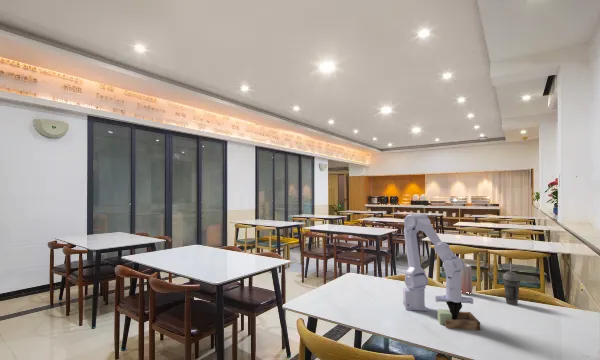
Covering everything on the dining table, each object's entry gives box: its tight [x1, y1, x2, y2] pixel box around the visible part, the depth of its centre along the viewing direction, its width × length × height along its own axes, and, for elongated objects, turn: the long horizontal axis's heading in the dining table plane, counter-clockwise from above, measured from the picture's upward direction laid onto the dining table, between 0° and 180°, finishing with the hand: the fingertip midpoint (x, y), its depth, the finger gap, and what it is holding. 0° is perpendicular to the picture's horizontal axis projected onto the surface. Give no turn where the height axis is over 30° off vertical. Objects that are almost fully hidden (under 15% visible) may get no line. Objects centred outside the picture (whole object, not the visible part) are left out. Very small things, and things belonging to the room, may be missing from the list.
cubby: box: [445, 311, 481, 331], centre depth 129 cm, size 13×10×3 cm
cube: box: [436, 308, 452, 326], centre depth 130 cm, size 4×4×4 cm
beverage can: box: [461, 263, 473, 296], centre depth 166 cm, size 6×6×15 cm
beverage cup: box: [502, 261, 521, 306], centre depth 152 cm, size 7×7×20 cm
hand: (454, 319), depth 130 cm, fingers closed
